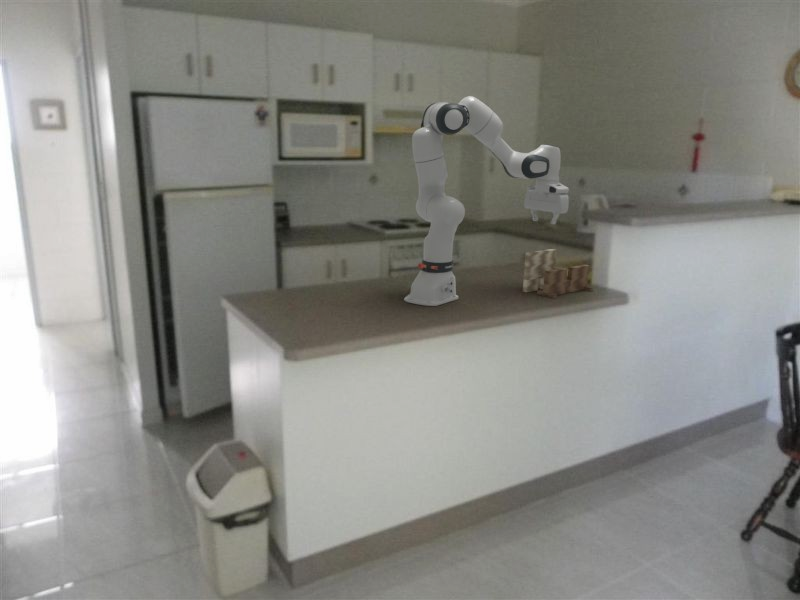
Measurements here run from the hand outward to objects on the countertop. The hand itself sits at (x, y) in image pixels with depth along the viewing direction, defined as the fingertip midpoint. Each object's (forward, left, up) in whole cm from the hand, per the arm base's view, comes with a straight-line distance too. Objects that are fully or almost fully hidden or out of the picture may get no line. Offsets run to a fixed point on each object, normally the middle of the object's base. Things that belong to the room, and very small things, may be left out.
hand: (544, 222), depth 238 cm
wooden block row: (+2, -11, -28) cm, 30 cm away
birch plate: (0, 0, -28) cm, 28 cm away
